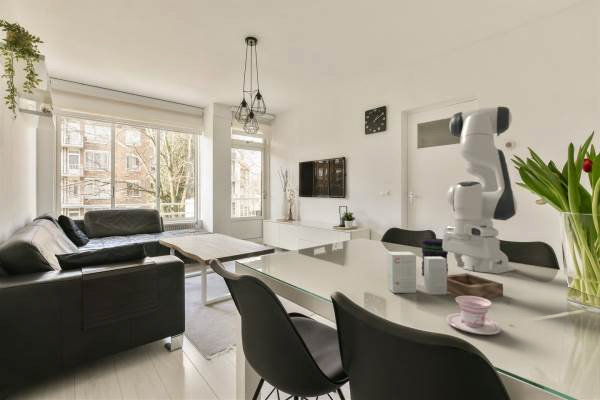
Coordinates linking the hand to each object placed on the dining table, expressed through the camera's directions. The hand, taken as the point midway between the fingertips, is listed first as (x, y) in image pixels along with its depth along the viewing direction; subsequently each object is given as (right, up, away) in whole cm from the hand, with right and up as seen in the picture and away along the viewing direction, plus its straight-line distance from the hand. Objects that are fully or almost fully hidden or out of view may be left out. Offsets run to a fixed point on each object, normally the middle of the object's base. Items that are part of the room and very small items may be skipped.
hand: (468, 268), depth 99 cm
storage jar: (-2, -8, +21) cm, 22 cm away
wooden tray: (0, -8, 0) cm, 8 cm away
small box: (-22, -8, +2) cm, 24 cm away
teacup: (-14, -8, -26) cm, 30 cm away
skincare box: (-12, -8, -1) cm, 14 cm away
